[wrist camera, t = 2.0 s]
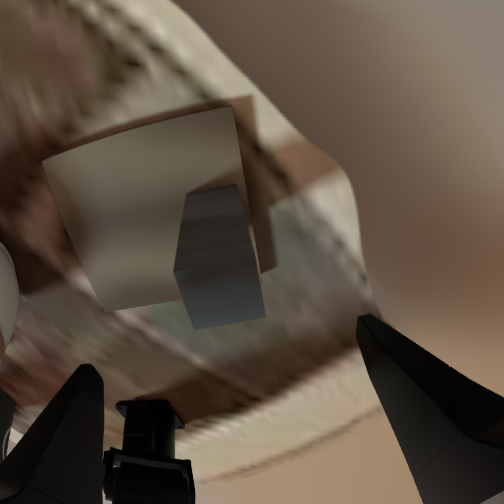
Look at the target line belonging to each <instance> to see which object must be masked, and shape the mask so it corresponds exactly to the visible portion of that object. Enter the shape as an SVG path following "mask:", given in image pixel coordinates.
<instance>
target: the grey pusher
mask: <svg viewBox="0 0 504 504" xmlns="http://www.w3.org/2000/svg"><path fill="white" fill-rule="evenodd" d="M41 162H42V165H43V168H44V171H45V174H46V177H47V180H48V183H49V186H50V189H51V192H52V195H53V197H54V200H55V203H56V205H57V208H58V211H59V213H60V216H61V218H62V221H63V223H64V226H65V228H66V231H67V233H68V235H69V238H70V240H71V242H72V245H73V247H74V249H75V251H76V254H77V256H78V258H79V260H80V262H81V265H82V267H83V269H84V271H85V273H86V275H87V277H88V279H89V281H90V283H91V285H92V287H93V289H94V291H95V293H96V295H97V297H98V299H99V301H100V303H101V305H102V306H103V308H104V310H105V312H109V311H116V310H122V309H128V308H134V307H140V306H146V305H152V304H158V303H164V302H169V301H175V300H181V299H183V301H184V304H185V306H186V309H187V312H188V314H189V317H190V320H191V322H192V325H193V328H194V330H198V329H204V328H210V327H215V326H221V325H227V324H232V323H237V322H243V321H248V320H253V319H258V318H263V317H266V315H265V309H264V303H263V297H262V292H261V286H260V284H262V279H261V273H260V267H259V261H258V255H257V249H256V243H255V237H254V231H253V225H252V219H251V213H250V208H249V202H248V196H247V190H246V184H245V178H244V172H243V166H242V160H241V155H240V149H239V143H238V137H237V131H236V125H235V120H234V114H233V108H232V106H231V105H228V106H223V107H217V108H212V109H207V110H202V111H198V112H193V113H188V114H184V115H180V116H175V117H171V118H167V119H163V120H159V121H155V122H152V123H148V124H144V125H141V126H137V127H134V128H130V129H127V130H123V131H120V132H117V133H114V134H111V135H108V136H104V137H101V138H98V139H95V140H93V141H90V142H87V143H84V144H81V145H78V146H76V147H73V148H70V149H68V150H65V151H62V152H60V153H57V154H55V155H52V156H50V157H48V158H46V159H45V160H43V161H41Z"/></svg>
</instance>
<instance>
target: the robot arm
mask: <svg viewBox="0 0 504 504" xmlns="http://www.w3.org/2000/svg"><path fill="white" fill-rule="evenodd" d="M356 339H357V342H358V345H359V348H360V351H361V354H362V357H363V360H364V363H365V366H366V369H367V372H368V375H369V378H370V380H371V382H372V385H373V387H374V389H375V391H376V393H377V395H378V398H379V400H380V402H381V404H382V406H383V408H384V411H385V413H386V415H387V417H388V420H389V422H390V424H391V426H392V429H393V431H394V433H395V436H396V438H397V440H398V442H399V445H400V447H401V449H402V452H403V454H404V457H405V459H406V461H407V464H408V466H409V469H410V471H411V473H412V476H413V477H414V481H415V484H416V486H417V489H418V491H419V494H420V496H421V499H422V502H423V504H504V397H502V396H500V395H499V394H496V393H494V392H493V391H491V390H489V389H487V388H485V387H483V386H481V385H480V384H478V383H476V382H474V381H472V380H470V379H469V378H467V377H466V376H464V375H463V374H461V373H459V372H458V371H457V370H455V369H454V368H452V367H449V365H448V364H446V363H445V362H443V361H441V360H440V359H439V358H437V357H436V356H434V355H433V354H431V353H430V352H428V351H427V350H425V349H424V348H422V347H420V346H419V345H418V344H416V343H415V342H413V341H412V340H410V339H409V338H407V337H406V336H404V335H403V334H401V333H400V332H398V331H397V330H395V329H394V328H392V327H391V326H389V325H388V324H386V323H385V322H383V321H382V320H380V319H379V318H377V317H376V316H374V315H372V314H371V313H367V314H363V315H360V316H358V318H357V326H356ZM115 408H116V409H117V410H118V411H119V412H120V413H121V415H122V416H123V417H124V418H125V423H124V432H123V446H122V450H119V449H115V448H114V447H110V450H109V451H104V457H103V437H104V382H103V379H102V377H101V376H100V374H99V373H98V372H97V370H96V369H95V368H94V366H93V365H92V364H81V365H80V366H79V367H78V368H77V369H76V370H75V372H74V373H73V374H72V375H71V376H70V378H69V379H68V380H67V381H66V383H65V384H64V385H63V386H62V387H61V389H60V390H59V391H58V392H57V394H56V395H55V396H54V397H53V399H52V400H51V401H50V402H49V404H48V405H47V406H46V407H45V409H44V410H43V411H42V412H41V414H40V415H39V416H38V418H37V419H36V420H35V421H34V423H33V424H32V425H31V427H30V428H29V429H28V430H27V432H26V433H25V434H24V436H23V437H22V438H21V440H20V441H19V442H18V443H17V445H16V446H15V447H14V448H13V450H12V451H11V452H10V453H9V454H8V455H7V457H6V458H5V459H4V460H3V461H2V462H1V463H0V504H103V497H102V489H103V490H104V494H105V499H106V500H109V501H112V504H195V486H194V480H193V473H192V467H191V460H188V459H185V460H181V459H175V429H184V428H185V424H184V423H183V421H182V420H181V419H180V417H179V416H178V414H177V413H176V412H175V410H174V409H173V407H172V406H171V405H170V403H169V402H168V401H167V400H156V401H143V402H127V403H116V406H115ZM115 466H117V467H115Z"/></svg>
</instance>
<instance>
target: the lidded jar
mask: <svg viewBox="0 0 504 504" xmlns="http://www.w3.org/2000/svg"><path fill="white" fill-rule="evenodd" d="M19 304H20V294H19V285H18V280H17V276H16V270H15V266H14V263H13V260H12V258H11V255H10V254H9V252H8V250H7V249H6V247H5V246H4V245H3V244H2V243H1V241H0V365H1V363H2V360H3V358H4V354H5V350H6V348H7V346H8V344H9V342H10V340H11V337H12V335H13V332H14V329H15V326H16V322H17V318H18V313H19Z"/></svg>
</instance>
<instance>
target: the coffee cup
mask: <svg viewBox="0 0 504 504" xmlns="http://www.w3.org/2000/svg"><path fill="white" fill-rule="evenodd" d="M15 407H16V405H15V402H14V401H13V399H12V398H11V397H10V396H9V395H8V394H7V393H6V392H4V391H3V390H2V389H0V463H1V462H2V461H3V460H4V459H5V458H6V455H7V448H8V441H9V436H10V431H11V426H12V421H13V416H14V411H15Z"/></svg>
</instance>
